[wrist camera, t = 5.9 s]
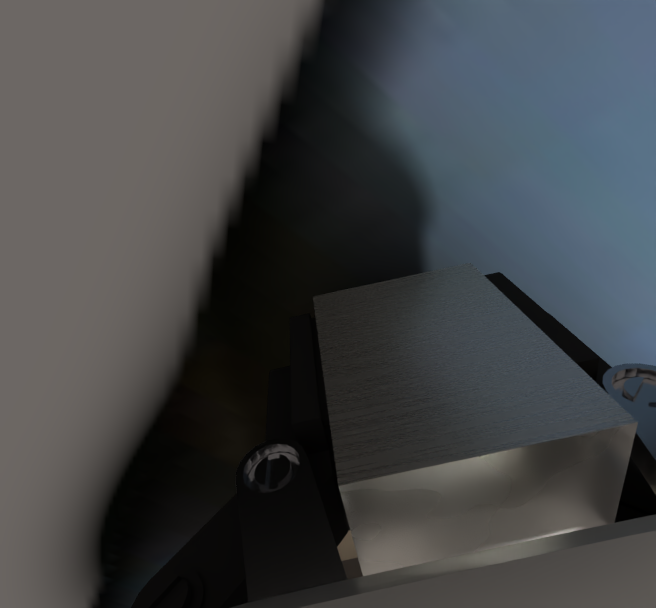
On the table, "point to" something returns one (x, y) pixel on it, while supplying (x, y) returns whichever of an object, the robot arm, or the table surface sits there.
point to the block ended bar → (461, 421)
